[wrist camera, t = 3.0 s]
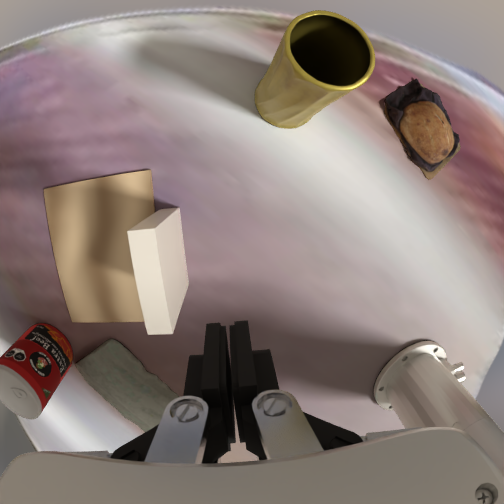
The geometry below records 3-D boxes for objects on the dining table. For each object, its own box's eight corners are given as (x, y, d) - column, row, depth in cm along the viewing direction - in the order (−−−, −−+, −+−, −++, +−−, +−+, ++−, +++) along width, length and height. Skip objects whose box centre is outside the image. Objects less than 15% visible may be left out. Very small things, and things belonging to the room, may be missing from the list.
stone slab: (116, 326, 34) (71, 364, 34) (111, 337, 31) (65, 375, 31) (227, 426, 40) (180, 452, 40) (230, 438, 37) (180, 464, 37)
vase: (256, 68, 25) (277, -4, 12) (317, 75, 26) (380, 18, 12) (252, 126, 27) (273, 90, 13) (315, 131, 28) (383, 108, 14)
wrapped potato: (459, 146, 29) (479, 147, 26) (421, 184, 30) (440, 188, 27) (416, 73, 26) (433, 66, 23) (372, 107, 28) (388, 101, 24)
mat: (151, 169, 27) (150, 169, 27) (171, 318, 32) (171, 320, 32) (45, 188, 27) (43, 189, 26) (73, 320, 31) (72, 322, 31)
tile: (179, 207, 29) (154, 228, 19) (188, 283, 31) (172, 333, 21) (158, 209, 29) (125, 231, 19) (169, 285, 31) (145, 334, 21)
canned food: (85, 356, 33) (50, 411, 22) (56, 375, 34) (24, 425, 23) (46, 310, 31) (0, 357, 20) (21, 335, 32) (-20, 379, 21)
